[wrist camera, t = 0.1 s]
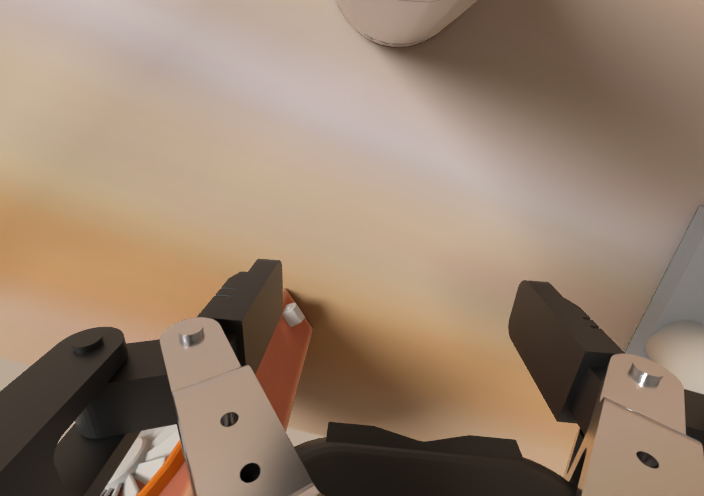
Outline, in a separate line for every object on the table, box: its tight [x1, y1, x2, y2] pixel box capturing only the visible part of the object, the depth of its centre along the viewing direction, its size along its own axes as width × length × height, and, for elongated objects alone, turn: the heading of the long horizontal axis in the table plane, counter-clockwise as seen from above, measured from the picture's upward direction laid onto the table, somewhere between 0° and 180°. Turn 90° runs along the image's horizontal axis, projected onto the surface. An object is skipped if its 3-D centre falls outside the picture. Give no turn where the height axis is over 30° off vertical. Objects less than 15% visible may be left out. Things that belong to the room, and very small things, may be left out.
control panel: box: [100, 289, 313, 496], centre depth 25 cm, size 21×7×15 cm
